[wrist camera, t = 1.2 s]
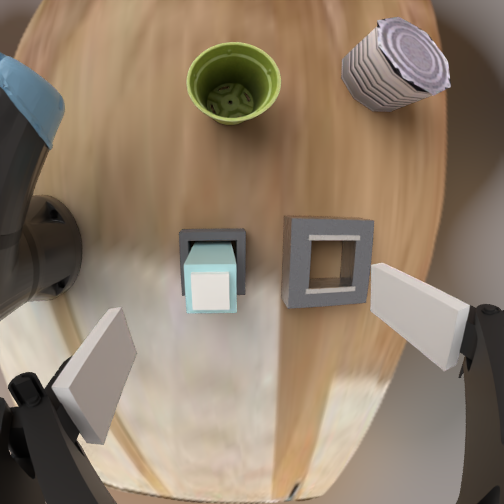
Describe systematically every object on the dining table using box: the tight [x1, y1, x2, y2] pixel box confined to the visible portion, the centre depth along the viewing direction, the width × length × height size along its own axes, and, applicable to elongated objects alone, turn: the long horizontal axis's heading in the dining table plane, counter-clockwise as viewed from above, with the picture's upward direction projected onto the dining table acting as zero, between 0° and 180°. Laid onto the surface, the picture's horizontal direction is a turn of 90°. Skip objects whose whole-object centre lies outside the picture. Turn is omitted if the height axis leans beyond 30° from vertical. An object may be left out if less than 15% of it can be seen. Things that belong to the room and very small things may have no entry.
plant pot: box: [187, 42, 281, 125], centre depth 28 cm, size 9×9×9 cm
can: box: [341, 17, 451, 112], centre depth 27 cm, size 11×11×12 cm
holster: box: [179, 229, 246, 296], centre depth 34 cm, size 8×8×3 cm
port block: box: [281, 216, 374, 309], centre depth 35 cm, size 11×11×4 cm
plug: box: [184, 241, 237, 313], centre depth 30 cm, size 4×4×13 cm
